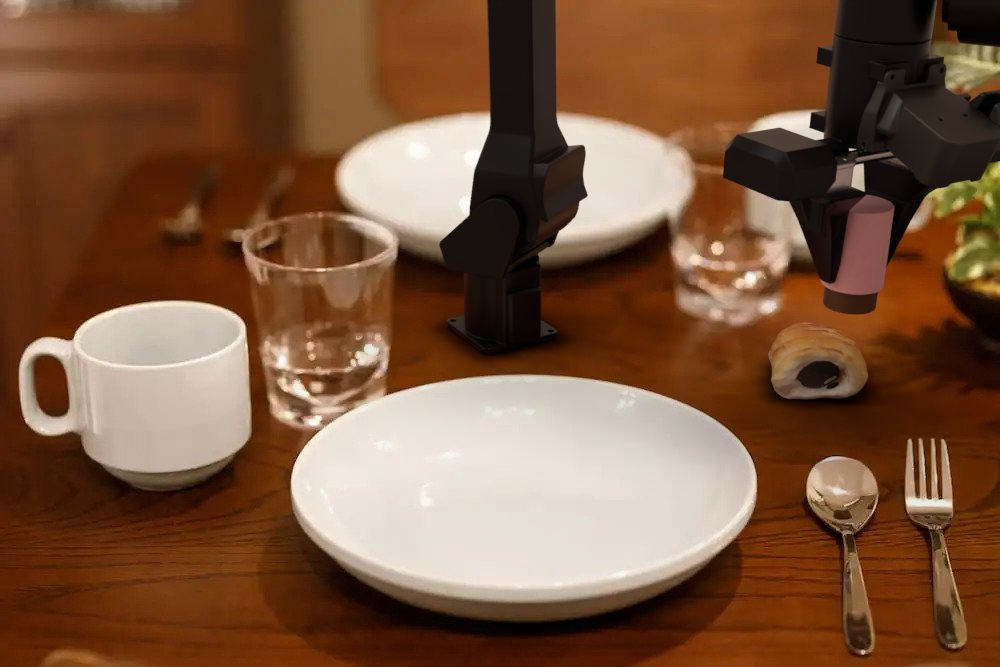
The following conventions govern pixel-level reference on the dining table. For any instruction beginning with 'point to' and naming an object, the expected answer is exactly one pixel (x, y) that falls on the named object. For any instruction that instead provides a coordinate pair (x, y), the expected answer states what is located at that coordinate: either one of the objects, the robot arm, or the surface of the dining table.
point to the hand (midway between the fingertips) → (852, 275)
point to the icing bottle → (862, 258)
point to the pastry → (816, 363)
